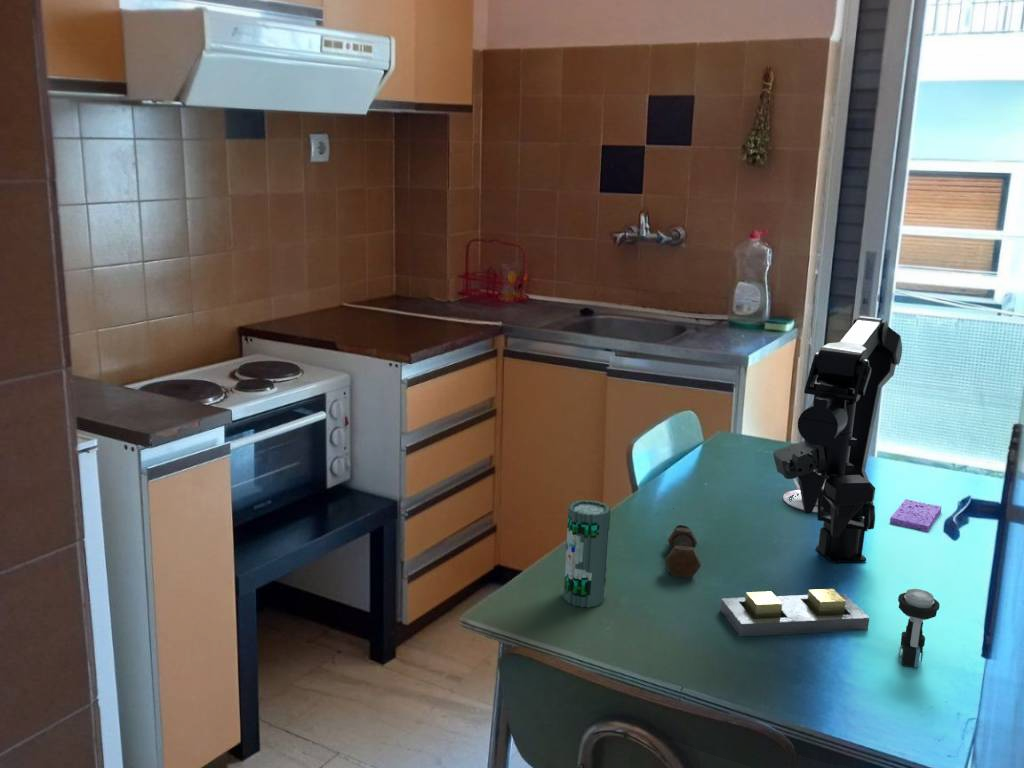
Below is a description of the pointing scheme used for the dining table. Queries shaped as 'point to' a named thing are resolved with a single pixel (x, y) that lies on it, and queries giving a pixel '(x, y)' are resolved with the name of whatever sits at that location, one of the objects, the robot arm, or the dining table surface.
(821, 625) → the rectangular frame
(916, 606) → the push button
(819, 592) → the tan wooden cube
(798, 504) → the teacup
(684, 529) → the bolt
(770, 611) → the beige wood block
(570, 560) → the can
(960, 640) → the dining table surface
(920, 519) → the sponges
